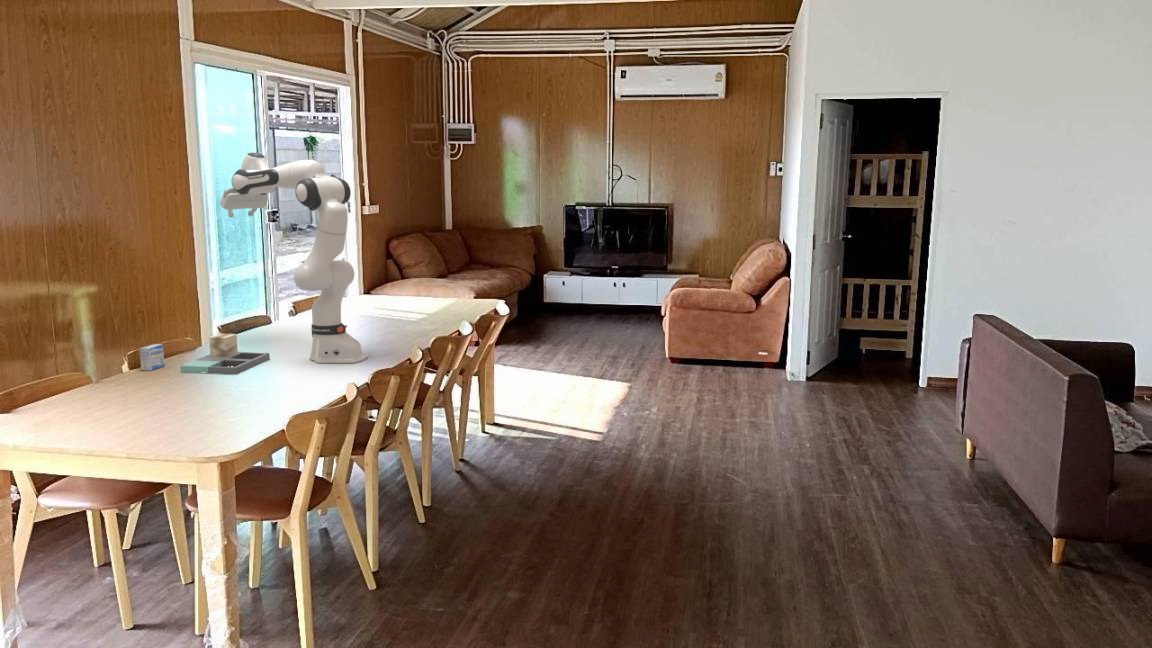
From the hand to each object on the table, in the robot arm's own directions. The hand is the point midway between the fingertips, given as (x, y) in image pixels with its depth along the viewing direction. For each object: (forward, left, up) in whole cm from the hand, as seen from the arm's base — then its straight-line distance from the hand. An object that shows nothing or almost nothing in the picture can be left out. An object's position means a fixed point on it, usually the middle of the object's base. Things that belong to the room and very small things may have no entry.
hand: (240, 216), depth 379 cm
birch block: (-11, +38, -52) cm, 65 cm away
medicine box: (+9, +55, -55) cm, 78 cm away
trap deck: (-16, +46, -54) cm, 73 cm away
